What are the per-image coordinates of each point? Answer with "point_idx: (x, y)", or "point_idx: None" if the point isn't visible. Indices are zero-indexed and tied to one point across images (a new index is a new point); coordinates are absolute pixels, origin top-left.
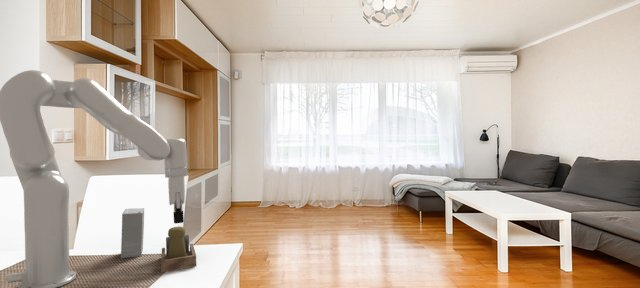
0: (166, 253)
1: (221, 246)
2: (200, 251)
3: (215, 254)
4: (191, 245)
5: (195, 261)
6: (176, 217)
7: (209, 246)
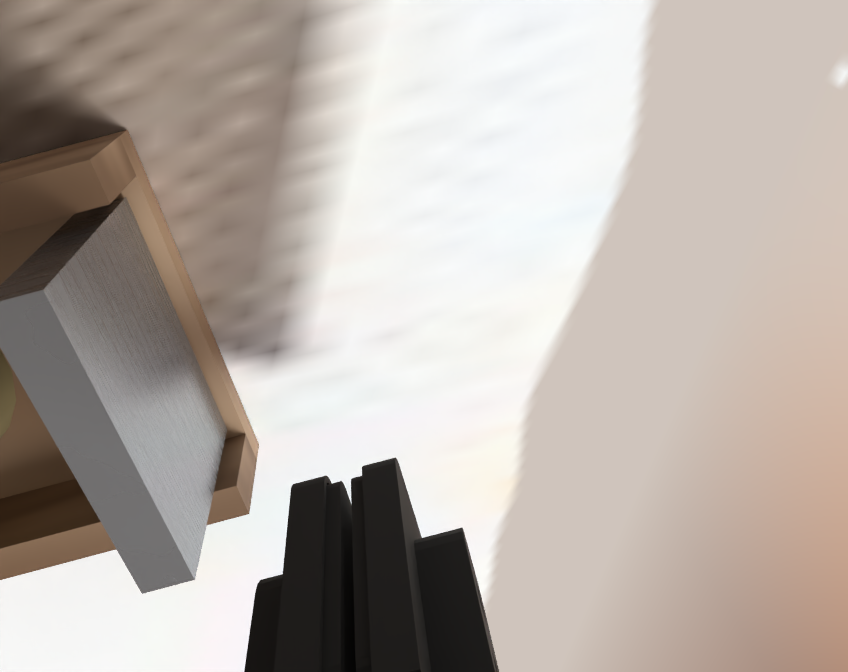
0: (71, 219)
1: None
2: None
3: (171, 639)
4: None
5: None
6: (252, 647)
7: None
